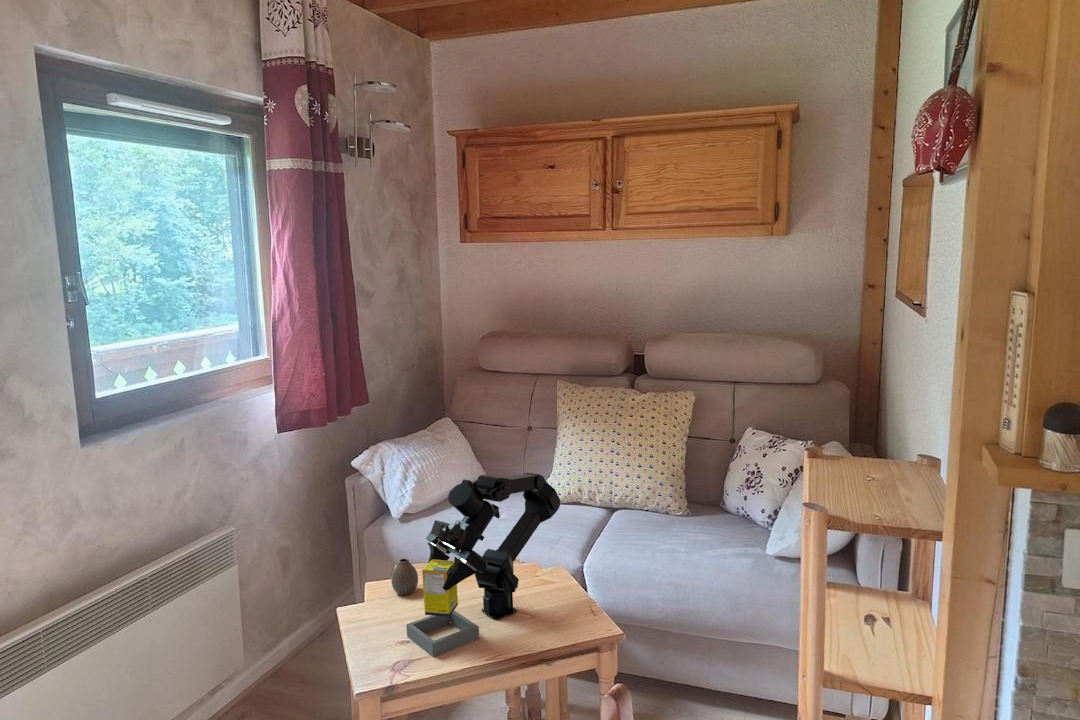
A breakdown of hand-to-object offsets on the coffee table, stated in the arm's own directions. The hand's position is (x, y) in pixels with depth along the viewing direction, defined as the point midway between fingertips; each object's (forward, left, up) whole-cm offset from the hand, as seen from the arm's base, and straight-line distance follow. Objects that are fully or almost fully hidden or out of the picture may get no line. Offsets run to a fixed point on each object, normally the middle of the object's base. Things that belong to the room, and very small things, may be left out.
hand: (434, 583), depth 168 cm
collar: (-1, 0, -13) cm, 13 cm away
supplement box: (-1, 0, -7) cm, 7 cm away
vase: (-6, -28, -14) cm, 32 cm away
